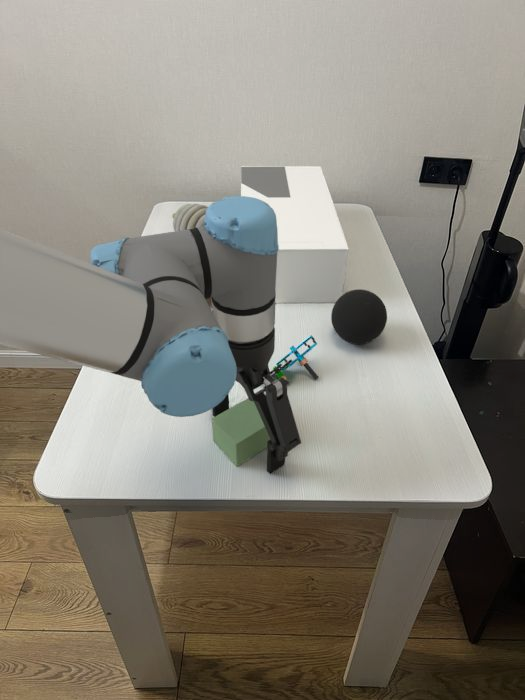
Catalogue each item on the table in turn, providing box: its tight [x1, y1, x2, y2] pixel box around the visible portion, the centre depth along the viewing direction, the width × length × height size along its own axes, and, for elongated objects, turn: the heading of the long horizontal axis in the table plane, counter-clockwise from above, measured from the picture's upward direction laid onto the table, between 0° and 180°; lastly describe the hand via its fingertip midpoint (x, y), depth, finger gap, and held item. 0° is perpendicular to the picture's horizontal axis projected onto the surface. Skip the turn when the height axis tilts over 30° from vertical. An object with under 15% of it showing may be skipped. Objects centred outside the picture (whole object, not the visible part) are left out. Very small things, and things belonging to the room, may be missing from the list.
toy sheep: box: [171, 203, 209, 232], centre depth 115 cm, size 11×17×11 cm, turn 52°
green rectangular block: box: [211, 397, 270, 467], centre depth 72 cm, size 8×6×5 cm
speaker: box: [330, 289, 388, 345], centre depth 89 cm, size 10×10×10 cm
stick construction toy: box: [270, 335, 319, 386], centre depth 83 cm, size 12×7×8 cm
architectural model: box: [240, 165, 350, 304], centre depth 115 cm, size 45×21×12 cm, turn 2°
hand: (247, 439), depth 74 cm, fingers open, 13 cm apart
